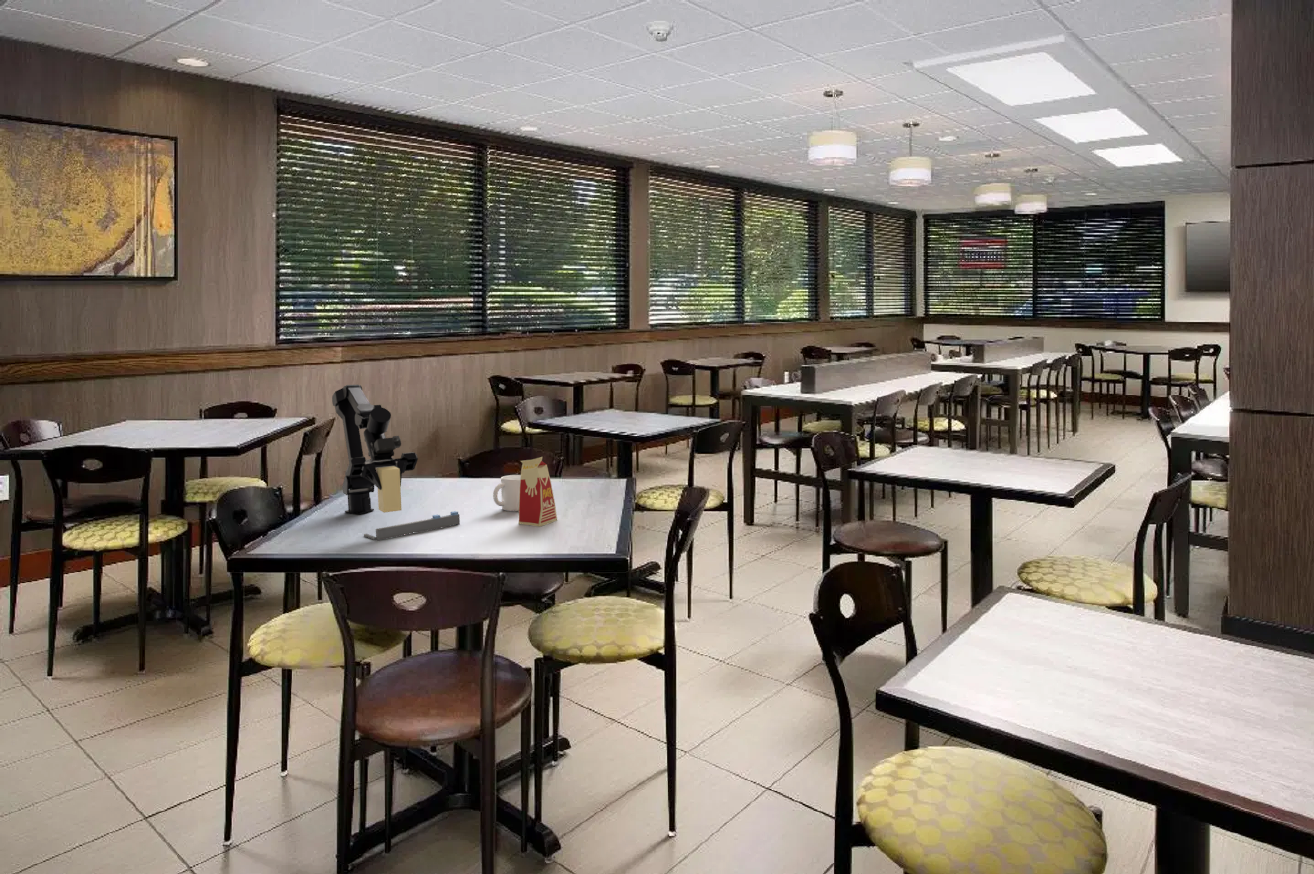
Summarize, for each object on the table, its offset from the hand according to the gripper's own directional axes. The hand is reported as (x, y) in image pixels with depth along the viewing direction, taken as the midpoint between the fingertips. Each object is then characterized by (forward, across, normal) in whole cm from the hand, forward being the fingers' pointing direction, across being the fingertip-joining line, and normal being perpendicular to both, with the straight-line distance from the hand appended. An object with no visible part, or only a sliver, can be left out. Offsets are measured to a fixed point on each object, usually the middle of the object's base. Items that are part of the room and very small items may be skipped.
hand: (390, 487), depth 248 cm
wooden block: (+4, 0, +6) cm, 7 cm away
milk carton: (+17, +40, +3) cm, 43 cm away
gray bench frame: (+8, +7, +11) cm, 15 cm away
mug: (+2, +41, +17) cm, 44 cm away
